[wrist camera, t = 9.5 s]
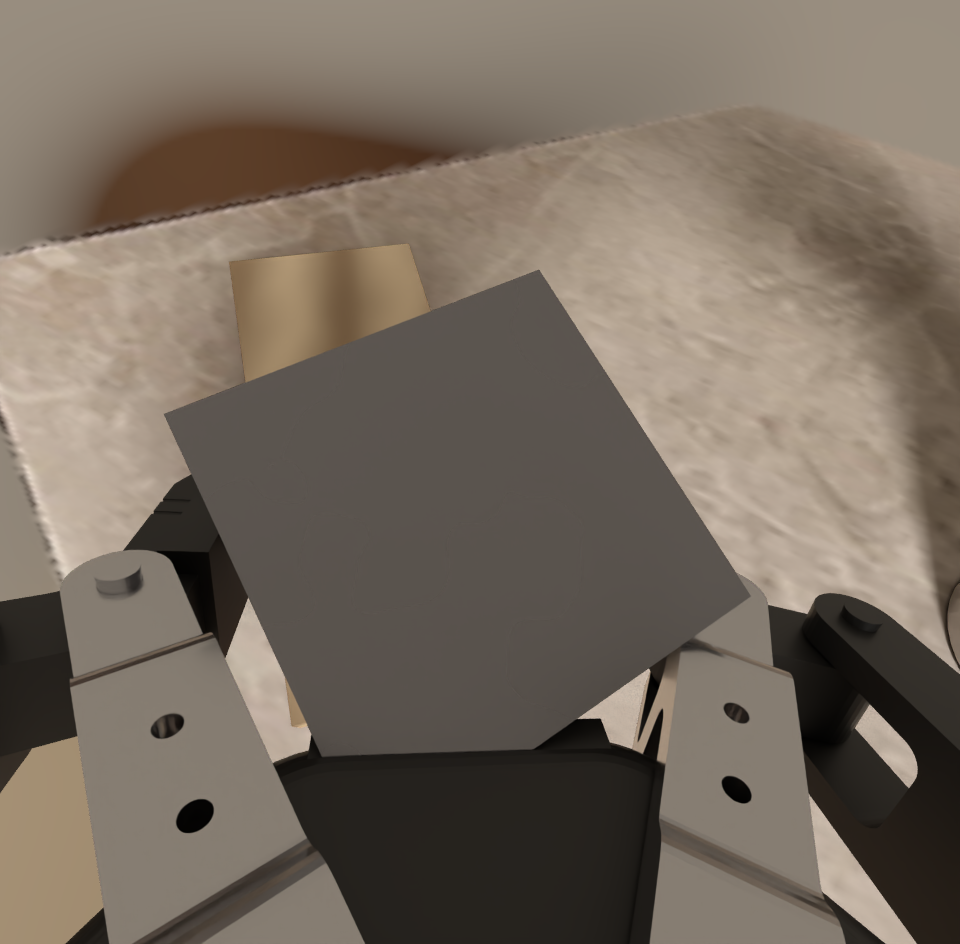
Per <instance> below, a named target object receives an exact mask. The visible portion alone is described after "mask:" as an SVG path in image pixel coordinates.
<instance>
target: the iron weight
mask: <svg viewBox="0 0 960 944" xmlns="http://www.w3.org/2000/svg"><path fill="white" fill-rule="evenodd" d="M164 416H165V418H166V420H167V422H168V424H169V426H170V429H171V431H172V433H173V435H174V437H175V439H176V442H177V444H178V446H179V448H180V450H181V452H182V455H183V457H184V459H185V461H186V463H187V465H188V468H189V470H190V472H191V474H192V476H193V478H194V481H195V483H196V485H197V487H198V489H199V491H200V494H201V496H202V498H203V500H204V502H205V504H206V507H207V509H208V511H209V513H210V515H211V517H212V520H213V522H214V524H215V526H216V528H217V530H218V533H219V535H220V537H221V539H222V541H223V543H224V546H225V548H226V550H227V552H228V554H229V556H230V559H231V561H232V563H233V565H234V567H235V569H236V572H237V574H238V576H239V578H240V580H241V582H242V585H243V587H244V589H245V591H246V593H247V595H248V598H249V600H250V602H251V604H252V606H253V608H254V611H255V613H256V615H257V617H258V619H259V621H260V624H261V626H262V628H263V630H264V632H265V634H266V637H267V639H268V641H269V643H270V645H271V647H272V650H273V652H274V654H275V656H276V658H277V660H278V663H279V665H280V667H281V669H282V671H283V673H284V676H285V678H286V680H287V682H288V684H289V686H290V689H291V691H292V693H293V695H294V697H295V699H296V702H297V704H298V706H299V708H300V710H301V712H302V715H303V717H304V719H305V721H306V723H307V725H308V728H309V730H310V732H311V734H312V736H313V738H314V741H315V743H316V745H317V747H318V749H319V751H320V754H321V756H322V758H325V757H346V756H377V755H407V754H437V753H467V752H498V751H528V750H533V749H535V748H536V747H537V746H539V745H540V744H542V743H543V742H544V741H546V740H547V739H549V738H550V737H552V736H553V735H554V734H556V733H557V732H559V731H560V730H562V729H563V728H564V727H566V726H567V725H569V724H570V723H572V722H573V721H574V720H576V719H577V718H579V717H580V716H582V715H583V714H584V713H586V712H587V711H589V710H590V709H591V708H593V707H594V706H596V705H597V704H599V703H600V702H601V701H603V700H604V699H606V698H607V697H609V696H610V695H611V694H613V693H614V692H616V691H617V690H619V689H620V688H621V687H623V686H624V685H626V684H627V683H628V682H630V681H631V680H633V679H634V678H636V677H637V676H638V675H640V674H641V673H643V672H644V671H646V670H647V669H648V668H650V667H651V666H653V665H654V664H656V663H657V662H658V661H660V660H661V659H663V658H664V657H666V656H667V655H668V654H670V653H671V652H673V651H674V650H675V649H677V648H678V647H680V646H681V645H683V644H684V643H685V642H687V641H688V640H690V639H691V638H693V637H694V636H695V635H697V634H698V633H700V632H701V631H703V630H704V629H705V628H707V627H708V626H710V625H711V624H713V623H714V622H715V621H717V620H718V619H720V618H721V617H722V616H724V615H725V614H727V613H728V612H730V611H731V610H732V609H734V608H735V607H737V606H738V605H740V604H741V603H742V602H744V601H745V600H747V599H748V598H750V597H751V595H750V594H749V592H748V590H747V589H746V587H745V586H744V584H743V583H742V581H741V580H740V578H739V577H738V575H737V574H736V572H735V570H734V569H733V567H732V566H731V564H730V563H729V561H728V560H727V558H726V557H725V555H724V554H723V552H722V550H721V549H720V547H719V546H718V544H717V543H716V541H715V540H714V538H713V537H712V535H711V534H710V532H709V530H708V529H707V527H706V526H705V524H704V523H703V521H702V520H701V518H700V517H699V515H698V514H697V512H696V510H695V509H694V507H693V506H692V504H691V503H690V501H689V500H688V498H687V497H686V495H685V494H684V492H683V490H682V489H681V487H680V486H679V484H678V483H677V481H676V480H675V478H674V477H673V475H672V474H671V472H670V470H669V469H668V467H667V466H666V464H665V463H664V461H663V460H662V458H661V457H660V455H659V454H658V452H657V450H656V449H655V447H654V446H653V444H652V443H651V441H650V440H649V438H648V437H647V435H646V434H645V432H644V430H643V429H642V427H641V426H640V424H639V423H638V421H637V420H636V418H635V417H634V415H633V414H632V412H631V410H630V409H629V407H628V406H627V404H626V403H625V401H624V400H623V398H622V397H621V395H620V394H619V392H618V390H617V389H616V387H615V386H614V384H613V383H612V381H611V380H610V378H609V377H608V375H607V374H606V372H605V370H604V369H603V367H602V366H601V364H600V363H599V361H598V360H597V358H596V357H595V355H594V354H593V352H592V350H591V349H590V347H589V346H588V344H587V343H586V341H585V340H584V338H583V337H582V335H581V334H580V332H579V330H578V329H577V327H576V326H575V324H574V323H573V321H572V320H571V318H570V317H569V315H568V314H567V312H566V310H565V309H564V307H563V306H562V304H561V303H560V301H559V300H558V298H557V297H556V295H555V294H554V292H553V290H552V289H551V287H550V286H549V284H548V283H547V281H546V280H545V278H544V277H543V275H542V274H541V272H540V270H537V271H534V272H532V273H529V274H526V275H524V276H521V277H519V278H516V279H513V280H511V281H508V282H506V283H503V284H500V285H498V286H495V287H493V288H490V289H487V290H485V291H482V292H480V293H477V294H474V295H472V296H469V297H467V298H464V299H461V300H459V301H456V302H454V303H451V304H448V305H446V306H443V307H441V308H438V309H435V310H433V311H430V312H428V313H425V314H422V315H420V316H417V317H415V318H412V319H409V320H407V321H404V322H402V323H399V324H397V325H394V326H391V327H389V328H386V329H384V330H381V331H378V332H376V333H373V334H371V335H368V336H365V337H363V338H360V339H358V340H355V341H352V342H350V343H347V344H345V345H342V346H339V347H337V348H334V349H332V350H329V351H326V352H324V353H321V354H319V355H316V356H313V357H311V358H308V359H306V360H303V361H300V362H298V363H295V364H293V365H290V366H287V367H285V368H282V369H280V370H277V371H274V372H272V373H269V374H267V375H264V376H261V377H259V378H256V379H254V380H251V381H248V382H246V383H243V384H241V385H238V386H235V387H233V388H230V389H228V390H225V391H222V392H220V393H217V394H215V395H212V396H209V397H207V398H204V399H202V400H199V401H197V402H194V403H191V404H189V405H186V406H184V407H181V408H178V409H176V410H173V411H171V412H168V413H165V414H164Z"/></svg>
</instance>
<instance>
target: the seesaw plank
mask: <svg viewBox="0 0 960 944" xmlns="http://www.w3.org/2000/svg"><path fill="white" fill-rule="evenodd" d="M229 264H230V272H231V279H232V287H233V294H234V302H235V309H236V316H237V324H238V331H239V339H240V346H241V354H242V361H243V368H244V376H245V383H246V382H248V381H251V380H254V379H256V378H259V377H261V376H264V375H267V374H269V373H272V372H274V371H277V370H280V369H282V368H285V367H287V366H290V365H293V364H295V363H298V362H300V361H303V360H306V359H308V358H311V357H313V356H316V355H319V354H321V353H324V352H326V351H329V350H332V349H334V348H337V347H339V346H342V345H345V344H347V343H350V342H352V341H355V340H358V339H360V338H363V337H365V336H368V335H371V334H373V333H376V332H378V331H381V330H384V329H386V328H389V327H391V326H394V325H397V324H399V323H402V322H404V321H407V320H409V319H412V318H415V317H417V316H420V315H422V314H425V313H428V312H430V308H429V305H428V302H427V299H426V295H425V292H424V289H423V286H422V283H421V280H420V277H419V274H418V271H417V268H416V265H415V262H414V258H413V255H412V252H411V249H410V246H409V244H399V245H390V246H380V247H370V248H360V249H350V250H340V251H330V252H320V253H311V254H301V255H291V256H281V257H271V258H261V259H251V260H242V261H232V262H229ZM285 681H286V688H287V696H288V703H289V711H290V718H291V725H292V726H293V727H298V728H302V727H305V726H308V725H307V723H306V721H305V719H304V717H303V715H302V712H301V710H300V708H299V706H298V704H297V702H296V699H295V697H294V695H293V693H292V691H291V689H290V686H289V684H288V682H287V680H286V678H285Z"/></svg>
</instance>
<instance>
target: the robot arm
mask: <svg viewBox="0 0 960 944" xmlns="http://www.w3.org/2000/svg"><path fill="white" fill-rule="evenodd" d="M736 574H737V575H738V577H739V578H740V580H741V581H742V583H743V584H744V586H745V587H746V589H747V590H748V592H749V594H750V595H751V597H750V598H748V599H747V600H745V601H744V602H742V603H741V604H740V605H738V606H737V607H735V608H734V609H732V610H731V611H730V612H728V613H727V614H725V615H724V616H722V617H721V618H720V619H718V620H717V621H715V622H714V623H713V624H711V625H710V626H708V627H707V628H705V629H704V630H703V631H701V632H700V633H698V634H697V635H695V636H694V637H693V638H691V639H690V640H688V641H687V642H685V643H684V644H683V645H681V646H680V647H678V648H677V649H675V650H674V651H673V652H671V653H670V654H668V655H667V656H666V657H664V658H663V659H661V660H660V661H658V662H657V663H656V664H654V665H653V666H651V667H650V668H649V669H650V673H649V676H648V678H647V681H646V684H645V687H644V692H643V697H642V702H641V707H640V712H639V717H638V722H637V727H636V732H635V737H634V742H633V747H632V749H630V748H627V747H624V746H621V745H618V744H614V743H610V742H609V740H608V737H607V734H606V732H605V729H604V726H603V724H602V721H601V719H576V720H574V721H573V722H572V723H570V724H569V725H567V726H566V727H564V728H563V729H562V730H560V731H559V732H557V733H556V734H554V735H553V736H552V737H550V738H549V739H547V740H546V741H544V742H543V743H542V744H540V745H539V746H537V747H536V748H535V749H533V750H528V751H498V752H467V753H437V754H407V755H377V756H346V757H325V758H322V756H321V754H320V751H319V749H318V747H317V745H316V743H315V741H314V738H313V736H312V735H311V741H310V747H309V750H308V751H305V752H301V753H298V754H294V755H292V756H289V757H287V758H284V759H281V760H279V761H276V762H274V763H272V761H271V759H270V757H269V754H268V752H267V750H266V748H265V746H264V743H263V741H262V739H261V737H260V735H259V732H258V730H257V728H256V726H255V724H254V721H253V719H252V717H251V715H250V713H249V710H248V708H247V706H246V704H245V702H244V699H243V697H242V695H241V693H240V691H239V688H238V686H237V684H236V682H235V680H234V677H233V675H232V673H231V671H230V669H229V666H228V664H227V662H226V660H225V658H226V655H227V652H228V650H229V647H230V644H231V642H232V639H233V636H234V634H235V631H236V628H237V626H238V623H239V620H240V618H241V615H242V612H243V610H244V607H245V604H246V602H247V599H248V595H247V593H246V591H245V589H244V587H243V585H242V582H241V580H240V578H239V576H238V574H237V572H236V569H235V567H234V565H233V563H232V561H231V559H230V556H229V554H228V552H227V550H226V548H225V546H224V543H223V541H222V539H221V537H220V535H219V533H218V530H217V528H216V526H215V524H214V522H213V520H212V517H211V515H210V513H209V511H208V509H207V507H206V504H205V502H204V500H203V498H202V496H201V494H200V491H199V489H198V487H197V485H196V483H195V481H194V478H193V476H192V474H191V475H189V476H188V477H186V478H184V479H182V480H181V481H179V482H177V483H175V484H174V485H173V487H172V488H171V489H170V490H169V492H168V493H167V494H166V496H165V497H164V498H163V502H160V503H159V505H158V506H157V507H156V509H155V510H154V514H151V515H150V516H149V518H148V519H147V520H146V522H145V523H144V524H143V526H142V527H141V528H140V529H139V531H138V532H137V533H136V535H135V536H134V537H133V539H132V540H131V541H130V542H129V544H128V545H127V546H126V548H125V549H124V550H123V551H119V552H113V553H109V554H106V555H102V556H99V557H97V558H94V559H92V560H89V561H87V562H85V563H83V564H82V565H80V566H78V567H77V568H75V569H74V570H73V571H71V572H70V573H69V574H68V575H67V576H66V577H65V579H64V580H63V582H62V584H61V587H60V591H58V592H53V593H48V594H43V595H37V596H32V597H25V598H19V599H13V600H7V601H2V602H0V792H1V791H2V790H3V788H4V787H5V785H6V784H7V783H8V781H9V780H10V778H11V777H12V776H13V774H14V773H15V772H16V770H17V769H18V767H19V766H20V765H21V763H22V762H23V761H24V759H25V758H26V757H27V755H28V754H29V752H30V751H31V749H32V748H35V747H39V746H42V745H46V744H50V743H53V742H57V741H61V740H64V739H68V738H72V737H75V736H78V742H79V749H80V755H81V762H82V769H83V775H84V781H85V788H86V795H87V800H88V808H89V814H90V820H91V827H92V834H93V840H94V847H95V854H96V860H97V867H98V873H99V880H100V886H101V893H102V900H103V906H104V908H102V909H101V910H100V911H99V912H98V913H97V914H96V915H95V916H94V917H93V918H92V919H91V920H90V921H89V922H88V923H87V924H86V925H85V926H84V927H83V928H81V929H80V930H79V932H77V933H76V934H75V935H74V936H73V937H72V938H71V939H70V940H69V941H68V942H67V943H66V944H885V943H884V942H883V941H881V940H880V939H879V938H878V937H877V936H875V935H874V934H873V933H872V932H870V931H869V930H868V929H867V928H866V927H864V926H863V925H862V924H861V923H859V922H858V921H857V920H856V919H855V918H853V917H852V916H851V915H850V914H849V913H847V912H846V911H845V910H844V909H842V908H841V907H840V906H839V905H838V904H836V903H835V902H834V901H833V900H831V899H830V898H829V897H828V896H827V895H825V894H824V893H823V892H822V890H821V885H820V879H819V871H818V863H817V855H816V848H815V840H814V832H813V825H812V817H811V809H810V802H809V795H810V796H811V797H812V799H813V800H814V801H815V803H816V804H817V806H818V807H819V808H820V810H821V811H822V813H823V814H824V815H825V817H826V818H827V820H828V821H829V822H830V824H831V825H832V826H833V828H834V829H835V831H836V832H837V833H838V835H839V836H840V838H841V839H842V840H843V842H844V843H845V844H846V846H847V847H848V849H849V850H850V851H851V853H852V854H853V856H854V857H855V858H856V860H857V861H858V862H859V864H860V865H861V867H862V868H863V869H864V871H865V872H866V874H867V875H868V876H869V878H870V879H871V880H872V882H873V883H874V885H875V886H876V887H877V889H878V890H879V892H880V893H881V894H882V896H883V897H884V899H885V900H886V901H887V903H888V904H889V905H890V907H891V908H892V910H893V911H894V912H895V914H896V915H897V917H898V918H899V919H900V921H901V922H902V923H903V925H904V926H905V928H906V929H907V930H908V932H909V933H910V935H911V936H912V937H913V939H914V940H915V941H916V943H917V944H960V674H959V673H957V672H956V671H955V670H954V669H953V668H951V667H950V666H949V665H948V664H947V663H945V662H944V661H943V660H942V659H941V658H939V657H938V656H937V655H936V654H935V653H933V652H932V651H931V650H930V649H929V648H927V647H926V646H925V645H924V644H922V643H921V642H920V641H919V640H918V639H916V638H915V637H914V636H913V635H912V634H910V633H909V632H908V631H907V630H906V629H904V628H903V627H902V626H901V625H900V624H898V623H897V622H896V621H895V620H894V619H892V618H891V617H890V616H888V615H887V614H886V613H884V612H883V611H881V610H879V609H878V608H876V607H874V606H872V605H870V604H868V603H866V602H864V601H861V600H859V599H856V598H853V597H850V596H846V595H842V594H834V593H827V594H822V595H819V596H818V597H817V598H816V599H815V601H814V603H813V605H812V607H811V608H810V610H809V612H808V614H805V613H800V612H796V611H792V610H787V609H783V608H779V607H774V606H770V605H768V602H767V599H766V597H765V595H764V593H763V592H762V591H761V590H760V589H759V588H758V587H757V586H756V585H755V584H754V583H753V582H751V581H750V580H748V579H747V578H745V577H743V576H742V575H740V574H738V573H736ZM948 631H949V636H950V641H951V645H952V648H953V651H954V653H955V656H956V659H957V661H958V663H959V664H960V582H959V584H958V585H957V586H956V587H955V589H954V591H953V594H952V596H951V598H950V602H949V608H948ZM869 705H871V706H872V707H873V708H874V709H875V710H876V711H877V712H878V713H879V714H880V715H881V716H882V717H883V718H884V719H885V720H886V721H887V722H888V723H889V724H890V726H891V727H892V728H893V729H894V730H895V731H896V732H897V733H898V734H899V735H900V736H901V737H902V738H903V739H904V740H905V741H906V742H907V744H908V745H909V746H910V748H911V749H912V751H913V753H914V755H915V758H916V761H917V766H918V774H917V777H916V779H915V781H914V782H913V784H912V785H911V786H910V788H908V787H907V786H906V785H905V784H904V783H903V782H902V781H901V779H900V778H899V777H898V776H897V775H896V774H895V773H894V772H893V771H892V769H891V768H890V767H889V766H888V765H887V764H886V763H885V762H884V760H883V759H882V758H881V757H880V756H879V755H878V754H877V753H876V751H875V750H874V749H873V748H872V747H871V746H870V745H869V744H868V743H867V741H866V740H865V739H864V738H863V737H862V736H861V735H860V734H859V732H858V731H857V730H856V729H855V727H856V725H857V724H858V722H859V720H860V719H861V717H862V716H863V714H864V712H865V711H866V709H867V708H868V706H869ZM808 793H809V794H808Z"/></svg>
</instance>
